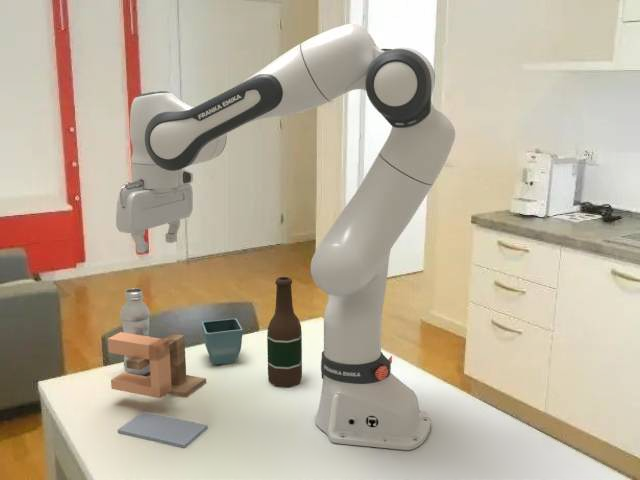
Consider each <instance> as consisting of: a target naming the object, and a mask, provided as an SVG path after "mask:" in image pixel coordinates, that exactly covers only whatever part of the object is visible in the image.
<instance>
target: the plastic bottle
mask: <svg viewBox="0 0 640 480" xmlns="http://www.w3.org/2000/svg"><path fill="white" fill-rule="evenodd" d="M124 294H125V296H124V299H125V300H126V301H125V303H124V304H123V305H122V308H121V309H120V312H119V317H120V322H121V325H122V330H123V333H129V334H135V335H141V336H148V337H150V321H151V319H150V317H151V312H150V308H149V307H148V306H147V303H145V302H144V301H143V299H144V295H143V289H142V288H136V287H135V288H134V287H133V288H129V289H126V290H125V293H124ZM123 356H124V357H123V367H124V371H125V373H130V374H135V375H140V376H145V375H148V374H150V364H148V365H147V366H145V367H144V368H142V369H140V370H136V369H130V368H127V365H126V360H128V359H129V358H131V357H132V356H126V355H123Z"/></svg>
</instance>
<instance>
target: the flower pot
mask: <svg viewBox="0 0 640 480" xmlns="http://www.w3.org/2000/svg"><path fill="white" fill-rule="evenodd" d="M201 330H202V336H203V342H204V345H205V346H204V347H205V348H206V350H207V351H206V352H207V353H208V356H209V359H210V360H211V362H212V363H213V365H223V364H229V363H230V364H231V363H236V361H237V359H238V358H239V355H240V353H241V350H242V343H243V342H242V341H243V331H244V329H243V326H241V324H240V322H239V319H237V318H226V319H216V320H206V321H202V322H201Z"/></svg>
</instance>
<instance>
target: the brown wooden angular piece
mask: <svg viewBox="0 0 640 480" xmlns="http://www.w3.org/2000/svg"><path fill="white" fill-rule="evenodd" d="M163 339H166V340H169V349H170V368H171V386H172V390H171V391H170V392H169V393H167V394H166V395H171V396H176V397H182V398H188V397H189V396H190V395H191V394H193V393H195V392H196V391H197V390H198V389H200V388H201V387H203V386H205V384H207V378H205V377H199V376H195V375H189V374H187V362H186V359H187V358H186V343H185V342H186V341H185V339H186V338H185V335H184V334H178V333H172V334H171V333H170V334H169V335H168V336H167V337H164V338H163ZM148 364H150V360H149V359H143V358H137V357H131V358H129V359H128V360H126V365H127V368H130V369H136V370H140V369H142V368H144V367H145V366H147V365H148Z"/></svg>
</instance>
